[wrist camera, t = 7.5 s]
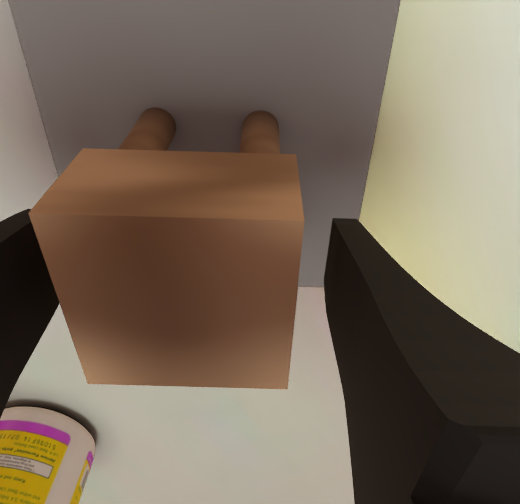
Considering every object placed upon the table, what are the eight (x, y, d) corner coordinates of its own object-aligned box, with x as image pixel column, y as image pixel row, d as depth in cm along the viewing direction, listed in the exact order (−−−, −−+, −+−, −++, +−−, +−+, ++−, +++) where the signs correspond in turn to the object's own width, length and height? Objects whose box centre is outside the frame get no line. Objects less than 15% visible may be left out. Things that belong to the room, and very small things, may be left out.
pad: (399, -15, 12) (403, -14, 12) (344, 281, 19) (345, 287, 18) (7, -27, 12) (1, -25, 12) (90, 275, 19) (87, 280, 18)
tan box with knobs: (289, 101, 14) (304, 221, 8) (280, 236, 17) (287, 389, 11) (126, 97, 14) (28, 213, 8) (147, 232, 17) (87, 383, 11)
